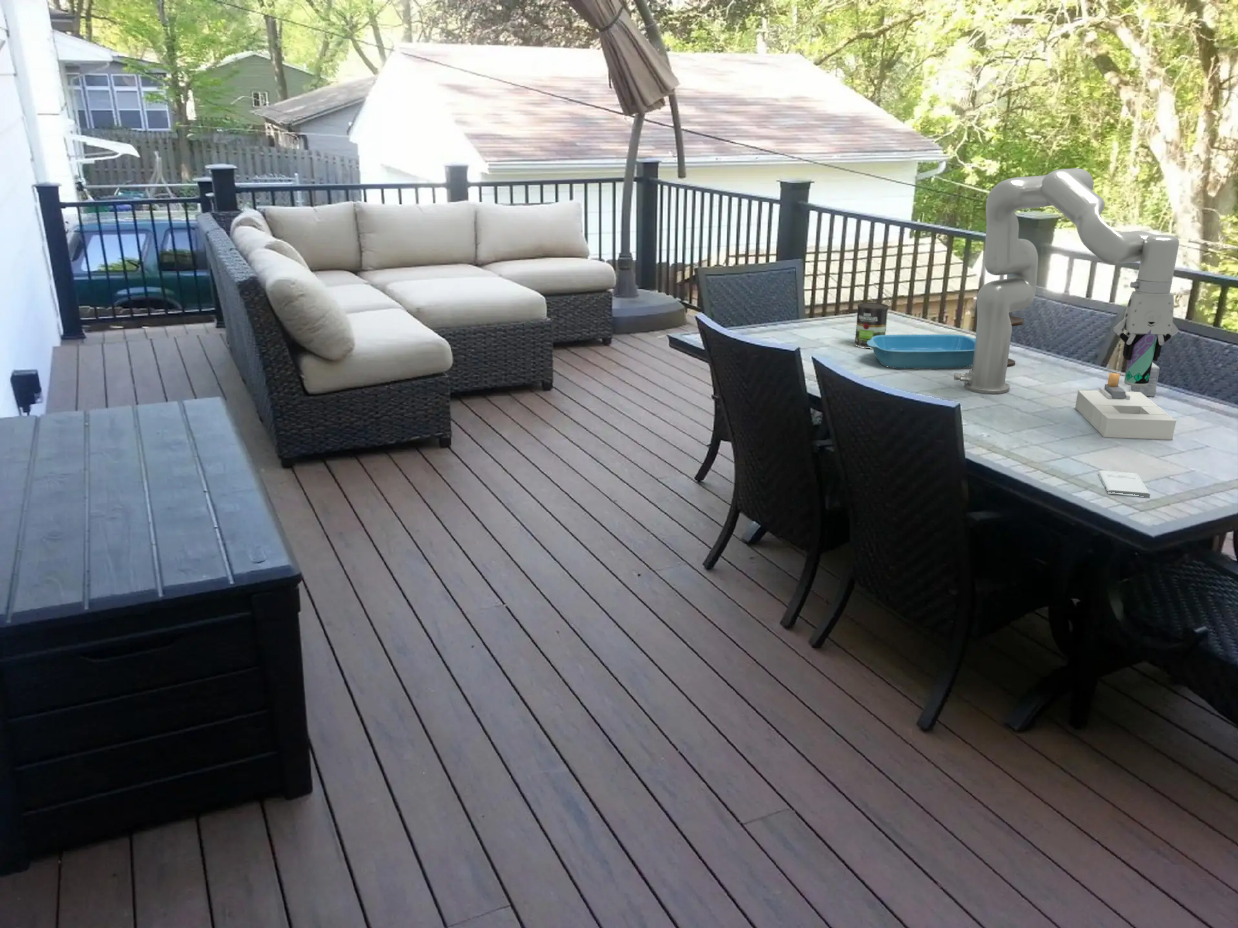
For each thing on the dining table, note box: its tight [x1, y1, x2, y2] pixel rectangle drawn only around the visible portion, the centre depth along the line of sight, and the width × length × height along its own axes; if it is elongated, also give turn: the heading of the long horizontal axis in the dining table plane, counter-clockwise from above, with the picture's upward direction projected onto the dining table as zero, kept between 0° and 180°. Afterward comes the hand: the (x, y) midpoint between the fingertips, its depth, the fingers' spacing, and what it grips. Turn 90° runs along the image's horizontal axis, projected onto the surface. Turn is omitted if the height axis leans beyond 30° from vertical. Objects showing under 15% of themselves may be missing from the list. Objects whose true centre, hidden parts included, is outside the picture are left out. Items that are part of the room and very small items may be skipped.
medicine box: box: [1130, 361, 1160, 398], centre depth 276 cm, size 8×4×9 cm, turn 168°
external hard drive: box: [1097, 469, 1151, 499], centre depth 212 cm, size 2×8×12 cm
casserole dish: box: [867, 333, 976, 370], centre depth 311 cm, size 37×22×7 cm, turn 87°
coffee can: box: [854, 302, 890, 350], centre depth 331 cm, size 10×10×14 cm
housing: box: [1074, 387, 1177, 441], centre depth 251 cm, size 16×25×6 cm, turn 171°
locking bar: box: [1103, 372, 1126, 399], centre depth 257 cm, size 3×7×5 cm, turn 172°
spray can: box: [1123, 320, 1157, 387], centre depth 240 cm, size 6×6×20 cm
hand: (1140, 358), depth 241 cm, fingers closed on spray can, 5 cm apart
